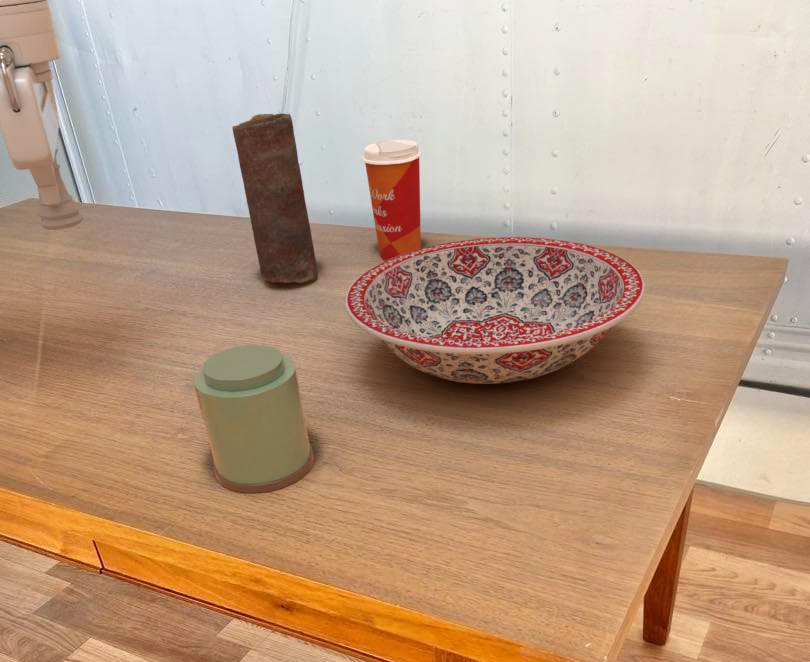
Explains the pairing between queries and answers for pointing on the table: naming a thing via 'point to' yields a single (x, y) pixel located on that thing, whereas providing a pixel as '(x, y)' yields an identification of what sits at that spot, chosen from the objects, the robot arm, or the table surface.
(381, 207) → the paper cup
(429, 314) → the ceramic bowl
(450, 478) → the table surface
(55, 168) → the rook chess piece
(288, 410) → the upturned tumbler
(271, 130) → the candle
